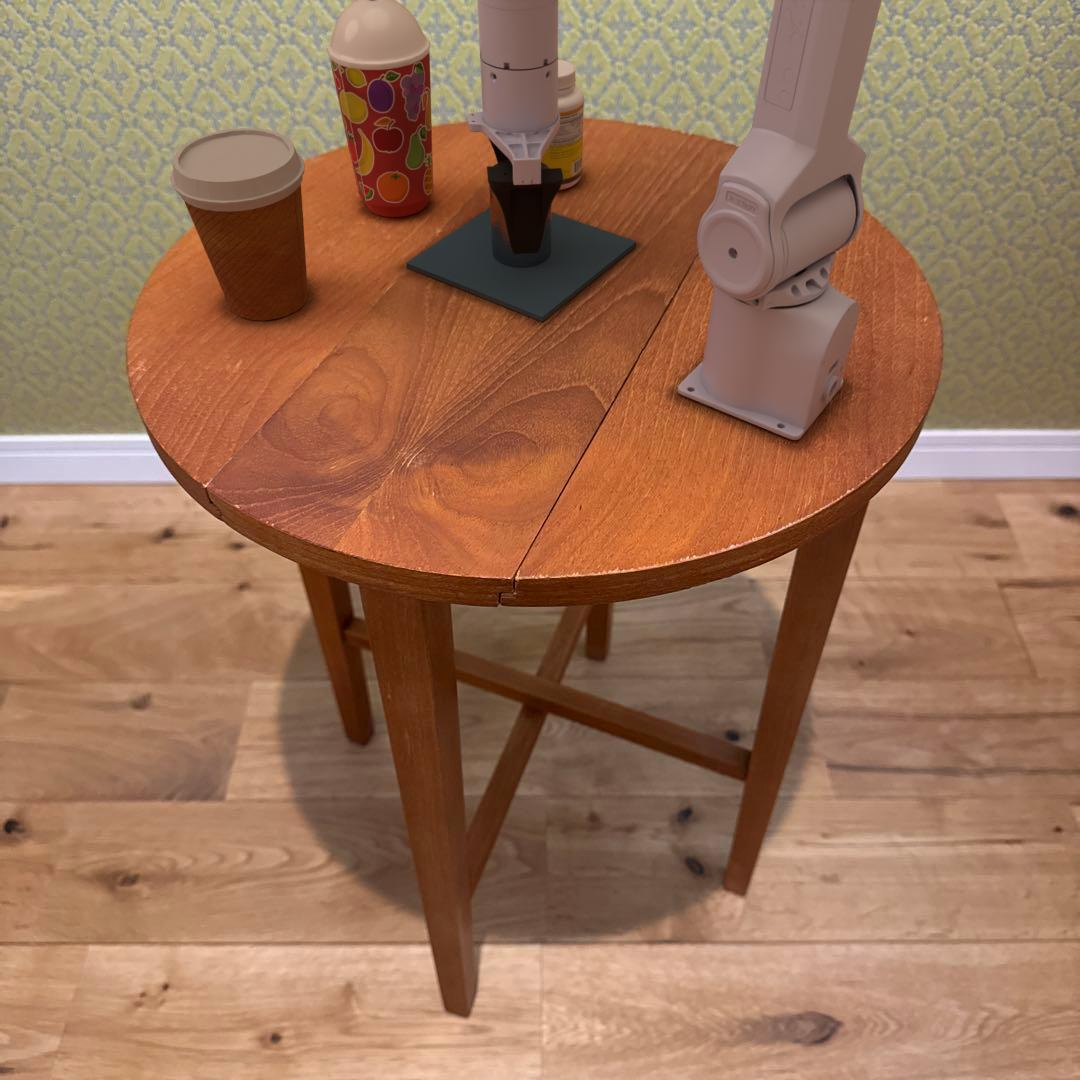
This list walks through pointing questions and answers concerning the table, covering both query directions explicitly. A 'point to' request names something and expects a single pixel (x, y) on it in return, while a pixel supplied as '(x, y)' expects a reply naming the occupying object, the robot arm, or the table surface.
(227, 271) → the disposable coffee cup
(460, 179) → the table surface
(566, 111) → the supplement bottle
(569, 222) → the mat
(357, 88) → the smoothie
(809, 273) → the robot arm
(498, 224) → the cylinder
